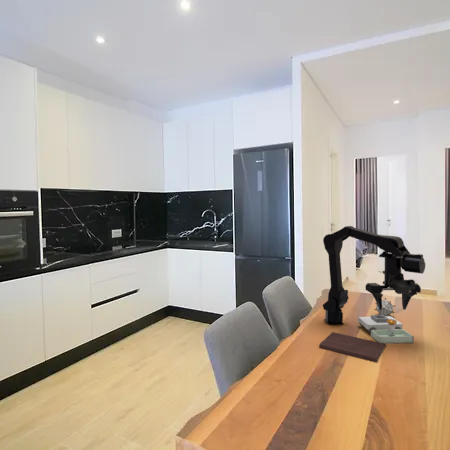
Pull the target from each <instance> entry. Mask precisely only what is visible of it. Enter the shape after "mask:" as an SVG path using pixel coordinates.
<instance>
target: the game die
mask: <svg viewBox="0 0 450 450" xmlns="http://www.w3.org/2000/svg"><path fill="white" fill-rule="evenodd" d="M374 304H375V305H376V306H375V308H374V310H373V311H376V312H377V313H378V315H384V316H391V317H392V314H395V311H394V307H396V305H393V303H392V300H390V301H389V300H387V298H386V297H385V298H384V299H382V310H379V307H378V305H377V303H376V302H375V303H374Z"/></svg>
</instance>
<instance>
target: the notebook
mask: <svg viewBox="0 0 450 450" xmlns="http://www.w3.org/2000/svg"><path fill="white" fill-rule="evenodd" d="M386 344H387V343H386ZM386 344H384V343H380V342H377V341H376V340H375V341H374V340H371V339H366V338H361V337H355V336H351V335H348V334H347V335H346V334H343V333H339V332H335V331H332V332H331V333H330V334H329V335H328V336H327V337H326V338H324V340H322V341H321V342H320V343H319V347H318V348H319V349H323V350H327V351H330V352H333V353H338V354H342V355H346V356H351V357H354V358H358V359H361V360H364V361H368V360H369V362H374V363H378V360H379V359H380V357H381V356H382V353H383V352H384V349H385V348H386V347H387V345H386Z"/></svg>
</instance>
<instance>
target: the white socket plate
mask: <svg viewBox="0 0 450 450" xmlns="http://www.w3.org/2000/svg"><path fill="white" fill-rule="evenodd" d="M387 319H393V320H396V321H397V324H395V329H403V323H401V321H398V320H397V319H395V318H394V317H392V315H391V316H390V315H388V316H384V315H381V314H371V315H370V316H358V319H357V321H358V323H359V325H360V326H361V327H362V326H363V327H364V328H365V329H366V330H367V332H368V333H369V334H370V335H371V330H388V323H387Z"/></svg>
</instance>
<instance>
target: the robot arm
mask: <svg viewBox="0 0 450 450" xmlns="http://www.w3.org/2000/svg"><path fill="white" fill-rule="evenodd" d="M348 238H353V239H356V240H359V241H363V242H365V243H369V244H372V245H375V246H376V247H377V248H379V249H381V250H382V253H380V254H378V257H379V258H384V270H383V271H382V274H384V278H383V281H382V285H381V284H378V283H377V282H367V283H366V284H365V291H367V292H369V293H370V294H372V297H373V298H374V300H375V303H377V304H376V306H377V305H378V307H379V310H382V300H383V296H384V294H383V291H394V293H395V294H398V295H401V306H402V310H406V309H407V307H408V305H409V302H410V301H411V299H412V297H413V296H415V295H418V293H421V292H422V288H421V286H420V284H418V283H416V281H415V280H414V279H405V278H404V277H405V276H404V273H402V270H403V271H404V272H407V273H415V274H424V272H425V270H426V262H425V258H424V254H421V253H420V254H419V253H416V254H414V253H411V252H410V251H409V249H408V248H407V247H406V246H405V243H404V240H403V238H401V237H400V236H396V235H384V234H377V233H375V232H371V231H367V230H364V229H361V228H358V227H355V226H352V225H347V226H346V225H345V226H344V227H342V228H341V229H339V230H336V231H335V232H333V233H329V234H328V233H327V234H326V235H325V236H324V237H323V239H322V240H323V241H322V242H323V245H324V249H325V251H326V253H327V255H328V265H329V278H330V279H329V281H330V288H329V290H328V293H327V294H328V296H327V300H326V301H325V302H324V303H323V304H322V308H323V310H324V311H325V318H324V319H323V320H324V321H325V323H326V324H327V325H330V326H331V325H332V326H334V325H335V326H337V325H339V326H340V325H344V323H343V322H344V319H343V317H344V313H343V308H344V307H345V305H346V304H347V303H348V300H350V299H349V294H348V293H349V291H348V289H345V288H344V287H343V276H342V263H341V252H342V249H343V244H344V241H345V240H347V239H348Z"/></svg>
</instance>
